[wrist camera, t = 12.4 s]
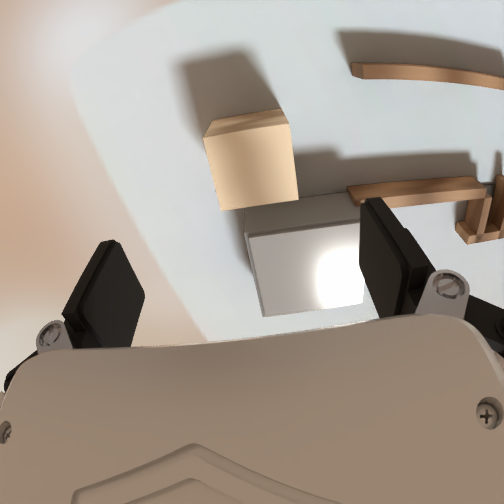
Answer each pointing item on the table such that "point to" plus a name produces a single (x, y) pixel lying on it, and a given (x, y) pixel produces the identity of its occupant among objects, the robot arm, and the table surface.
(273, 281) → the stand
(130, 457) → the robot arm
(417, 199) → the channel
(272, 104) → the table surface
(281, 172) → the block
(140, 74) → the table surface
